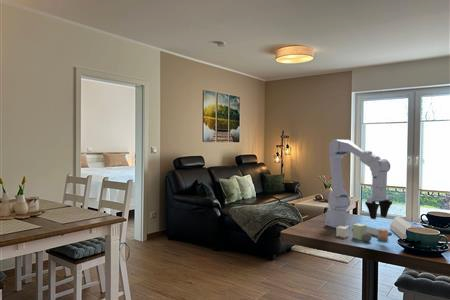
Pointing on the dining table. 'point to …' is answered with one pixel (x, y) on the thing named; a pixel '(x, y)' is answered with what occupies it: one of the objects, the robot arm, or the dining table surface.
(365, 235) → the rubber ball
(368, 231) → the slate board
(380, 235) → the tan sphere
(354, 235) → the sage block
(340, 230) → the off-white cube
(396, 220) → the crystal
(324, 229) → the dining table surface
